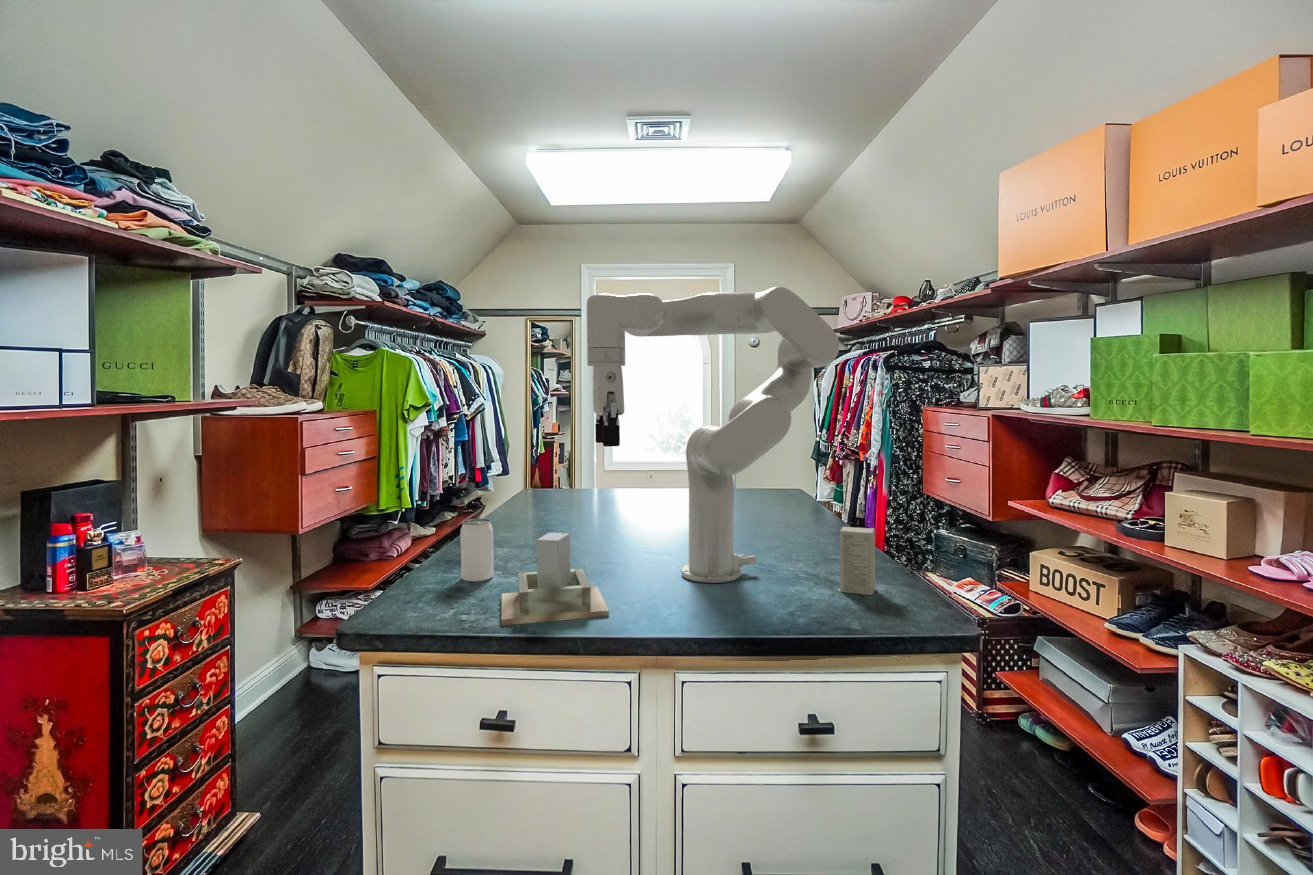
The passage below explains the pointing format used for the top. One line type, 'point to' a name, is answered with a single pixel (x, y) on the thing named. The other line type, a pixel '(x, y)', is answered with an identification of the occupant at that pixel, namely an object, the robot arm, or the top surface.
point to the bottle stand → (552, 601)
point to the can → (476, 550)
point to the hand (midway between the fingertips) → (607, 444)
